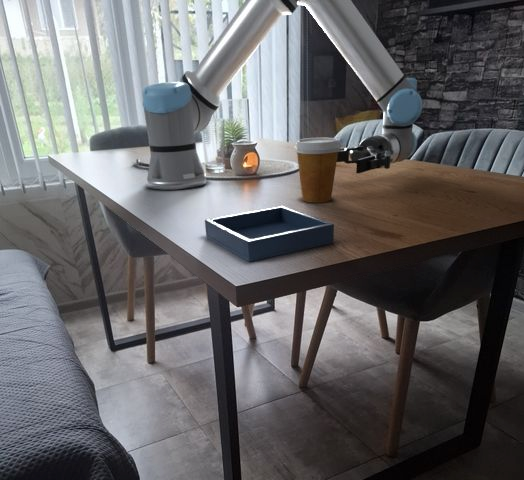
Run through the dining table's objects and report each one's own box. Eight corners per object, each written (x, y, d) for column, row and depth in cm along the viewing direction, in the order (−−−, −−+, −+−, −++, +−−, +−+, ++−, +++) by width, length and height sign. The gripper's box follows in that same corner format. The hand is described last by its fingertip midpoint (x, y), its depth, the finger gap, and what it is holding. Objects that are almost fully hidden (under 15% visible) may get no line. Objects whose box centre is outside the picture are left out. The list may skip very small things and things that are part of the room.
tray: (206, 237, 84) (204, 219, 82) (282, 222, 90) (282, 205, 89) (249, 262, 72) (247, 241, 70) (333, 243, 78) (334, 223, 77)
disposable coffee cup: (302, 193, 111) (302, 137, 105) (343, 195, 108) (345, 137, 102) (288, 203, 104) (287, 142, 98) (331, 205, 100) (333, 143, 94)
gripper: (423, 171, 115) (381, 187, 101) (334, 164, 129) (285, 177, 115) (428, 137, 111) (384, 148, 97) (335, 133, 125) (285, 143, 111)
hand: (330, 164), depth 106 cm, fingers open, 13 cm apart
